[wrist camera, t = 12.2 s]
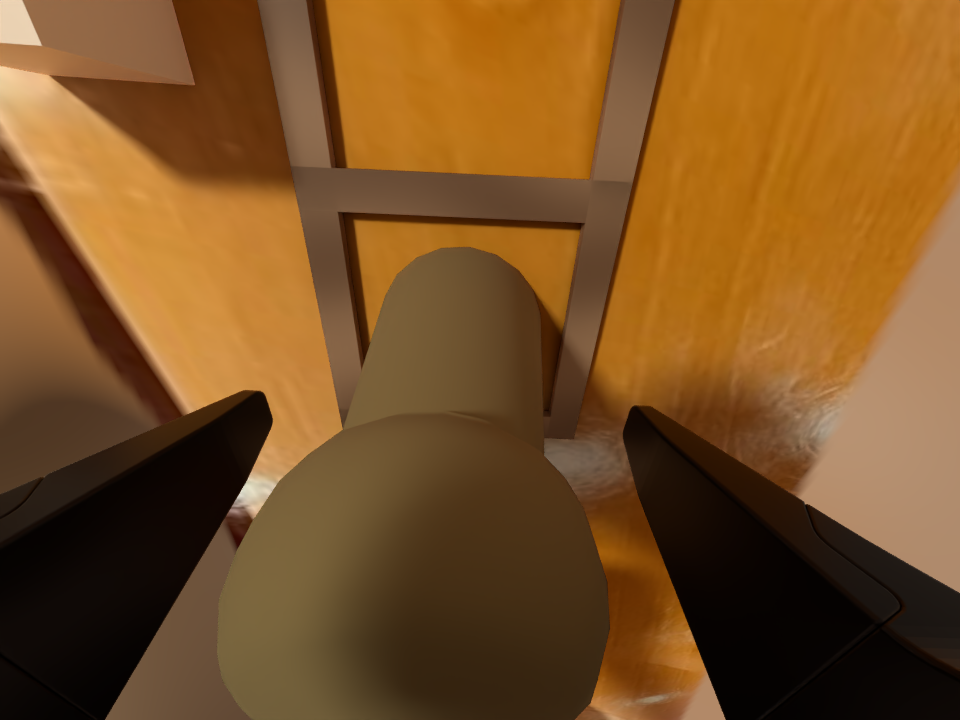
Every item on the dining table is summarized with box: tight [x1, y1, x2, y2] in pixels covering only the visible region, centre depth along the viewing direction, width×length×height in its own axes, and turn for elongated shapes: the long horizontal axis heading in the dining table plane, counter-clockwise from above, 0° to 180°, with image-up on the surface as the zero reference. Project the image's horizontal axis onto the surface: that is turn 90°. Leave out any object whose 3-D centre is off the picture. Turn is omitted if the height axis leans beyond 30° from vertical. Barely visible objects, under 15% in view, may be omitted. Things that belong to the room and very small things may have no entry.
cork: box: [217, 247, 610, 720], centre depth 9 cm, size 6×6×11 cm
